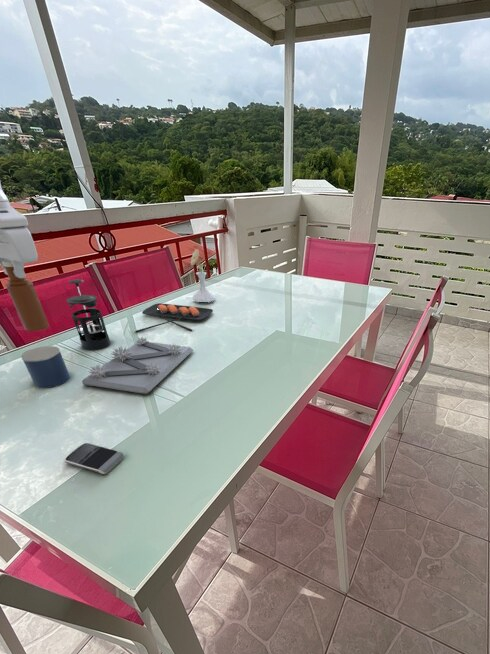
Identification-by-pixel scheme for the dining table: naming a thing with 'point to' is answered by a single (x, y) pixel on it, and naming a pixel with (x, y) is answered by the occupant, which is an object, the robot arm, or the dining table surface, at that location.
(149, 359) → the decorative plate
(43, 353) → the tin can
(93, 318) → the french press
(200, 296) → the flower in vase
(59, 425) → the dining table surface
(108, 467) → the cell phone
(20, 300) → the bottle
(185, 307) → the sushi plate
